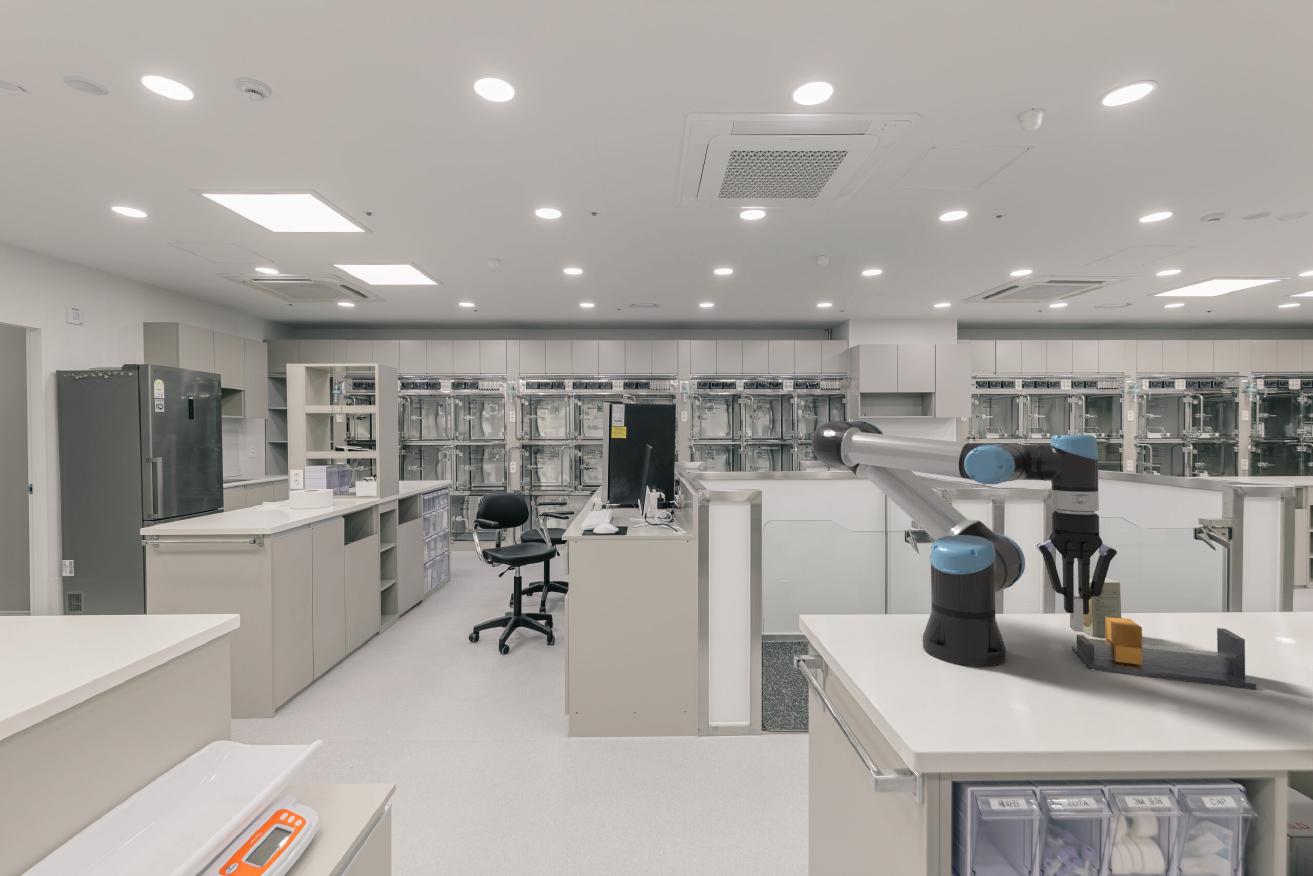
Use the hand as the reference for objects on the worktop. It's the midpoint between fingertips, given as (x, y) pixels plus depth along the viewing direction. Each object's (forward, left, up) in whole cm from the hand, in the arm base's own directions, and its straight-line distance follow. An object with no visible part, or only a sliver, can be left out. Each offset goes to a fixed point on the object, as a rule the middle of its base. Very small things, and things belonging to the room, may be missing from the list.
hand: (1076, 629), depth 110 cm
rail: (+12, 0, -6) cm, 14 cm away
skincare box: (+9, +19, -6) cm, 22 cm away
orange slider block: (+7, 0, -5) cm, 9 cm away
